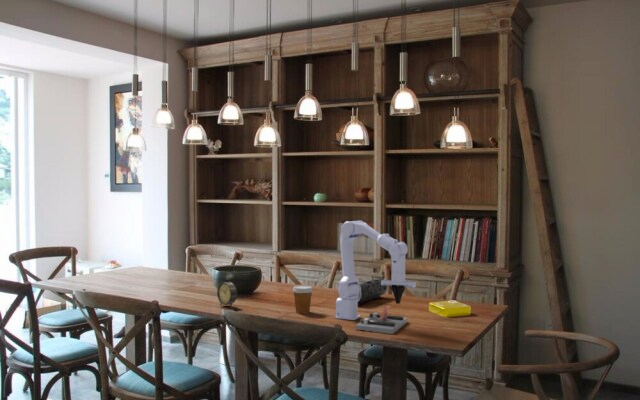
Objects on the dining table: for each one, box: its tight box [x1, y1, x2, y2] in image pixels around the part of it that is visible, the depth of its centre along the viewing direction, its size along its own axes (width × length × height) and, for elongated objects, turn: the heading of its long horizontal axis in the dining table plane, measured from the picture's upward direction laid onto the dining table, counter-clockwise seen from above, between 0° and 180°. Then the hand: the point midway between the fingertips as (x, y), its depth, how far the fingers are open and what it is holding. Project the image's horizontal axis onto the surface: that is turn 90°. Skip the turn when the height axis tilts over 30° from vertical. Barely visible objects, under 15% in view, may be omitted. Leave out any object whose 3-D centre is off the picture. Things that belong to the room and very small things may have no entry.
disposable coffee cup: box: [292, 284, 314, 315], centre depth 272 cm, size 10×10×12 cm
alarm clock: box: [216, 273, 238, 309], centre depth 284 cm, size 11×5×16 cm, turn 47°
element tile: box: [428, 299, 472, 318], centre depth 272 cm, size 15×15×5 cm
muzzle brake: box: [358, 278, 388, 305], centre depth 298 cm, size 10×28×10 cm, turn 147°
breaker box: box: [355, 312, 408, 335], centre depth 246 cm, size 16×22×4 cm
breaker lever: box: [380, 304, 392, 321], centre depth 246 cm, size 1×5×6 cm, turn 156°
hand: (398, 303), depth 243 cm, fingers closed
